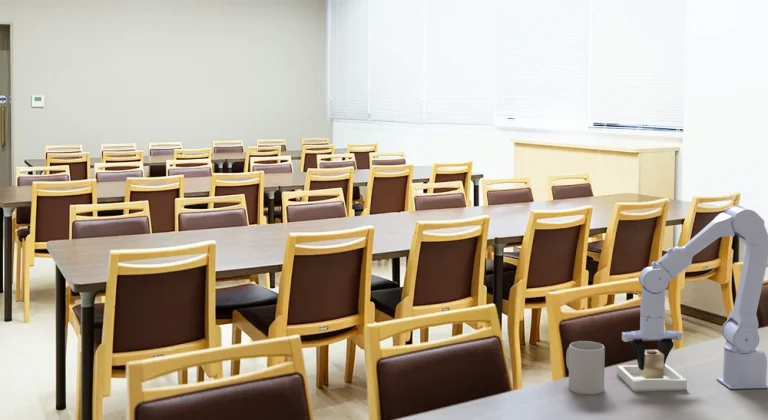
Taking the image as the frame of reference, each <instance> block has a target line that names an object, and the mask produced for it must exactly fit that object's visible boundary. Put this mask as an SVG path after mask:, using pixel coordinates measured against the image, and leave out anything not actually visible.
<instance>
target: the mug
mask: <svg viewBox="0 0 768 420" xmlns="http://www.w3.org/2000/svg"><path fill="white" fill-rule="evenodd" d="M568 345H569V346H568V347H567V350H566V353H565V354H566V356H565V362H566V366H567V367H566V368H567V370H568V389H569V390H570V391H571V392H572V393H575V394H579V395H587V396H588V395H590V396H591V395H599V394H601V393H604V391H605V355H606V352H605V351H606V349H605V348H606V347H605V346H604V344H602V343H600V342H595V341H591V340H590V341H588V340H578V341H574V342H571V343H570V344H568Z"/></svg>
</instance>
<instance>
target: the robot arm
mask: <svg viewBox="0 0 768 420" xmlns="http://www.w3.org/2000/svg"><path fill="white" fill-rule="evenodd" d="M735 235H736V236H738V238H739V239H740V240H741V242H742V243H743V244H744V245H745V246H746V249H745V252H744V258H743V262H742V267H741V270H740V271H741V273H740V276H739V282H738V286H737V292H736V296H735V301H734V305H733V308H732V309H731V310H730V311H729V313H728V317H727V320H726V321H725V322H724V323H723V325H722V326H721V327H722V328H721V334H722V336H723V338H724V340H726V341H725V342H724V345H723V366H722V367H723V369H722V370H723V372H722V376H717V377H716V380H717V381H718V382H719V383H721V384H723V385H724V386H725V387H727V388H728V389H730V390H741V389H742V390H743V389H747V390H748V389H767V388H768V385H767V369H768V363H767V362H768V360H767V355H766V352H765V351H764V350H763V349H762V348H758V346H759V343H760V335H759V320H758V316H757V315H758V314H757V311H758V307H759V303H760V299H761V298H760V297H761V293H762V287H763V283H764V279H765V275H766V269H767V266H768V265H767V263H768V230H767V229H766V226H765V220H764V219H763V218H762V217H761V216H760V215H759V214H758V213H757V212H756V211H755V210H752V209H748V208H744V206H741V205H731V206H730V207H727V208H726V209H725V210H724V212H721V213H719V214H718V215H717V216H715V217H714V219H713V220H711V221H710V222H709V223H708V224H707V225H705V227H704V228H702V229H701V230H700V231H699V232H698V233H696V234H695V235H694V236H693V237H692V238H691V239H690V240H689V241H687V243H685V245H683V246H676V245H675V246H674V247H673V248H672V247H669V248H667V249H665V251H666V253H665V254H664V255H663V256H661V257H660V258H659V259H657V261H652V262H651V266H647V267H644V268H643V269H642V270H641V272H640V274H639V276H638V282H639V284H640V285H641V289H640V293H641V295H640V307H639V308H640V310H639V311H640V316H639V317H640V320H639V322H640V323H639V326H640V327H639V330H633V331H632V330H631V331H625V332H624V331H622V332H621V341H623V342H624V343H626V342H627V343H628V342H630V344H631V347H632V348H633V351H634V354H635V356H636V361H637V365H638V368H639V369H641V370H644V355H645V350H647V349H646V348H647V345H646V344H645V342H646V341H656V342H657V350H658V351H660V352H661V353H662V354H663V355H664V365H665V364H666V362H667V359H668V356H669V355H670V352H671V350H672V349H673V348H674V345H675V344H674V343H675V342H674V341H675V340H676V341H683V332H682V331H680V330H665V313H666V312H665V309H666V307H665V305H666V304H665V303H666V298H665V293H666V292H665V291H666V290H667V288H668V286H669V283H670V282H671V281H672V280H673V279H675V278H676V277H677V276H678V275H680V274H681V273H682V272H683V271H685V270H686V269H687V268H688V267H690V266H691V265H692V261H693V257H694V256H695V255H697V254H698V253H700V252H701V251H703V250H704V249H705V248H707V247H708V246H709V245H710V244H713V242H715V241H716V240H717V239H718V240H719V238H722V237H723V238H725V237H735Z"/></svg>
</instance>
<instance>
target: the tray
mask: <svg viewBox="0 0 768 420" xmlns="http://www.w3.org/2000/svg"><path fill="white" fill-rule="evenodd" d="M616 376H617V377H618V378H619V379H620V380H621V381H622V382H623V383H625V385H626V386H627V387H628V388H630V390H631V391H633V392H635V393H637V392H638V393H639V392H670V391H677V392H679V391H687V389H688V387H687V386H688V385H687V384H688V380H687V379H686V378H685V377H684V376H683V375H681V374H680V373H678V372H677V371H676V370H675V369H673V368H672V367H671V366H669V365H668V364H666V363H665V365H664V375H663V379H645V378H644V377H643V376H642V375H641V374H640V373H639V368H638V364H633V365H629V364H628V365H617V366H616Z"/></svg>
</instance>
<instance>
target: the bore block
mask: <svg viewBox="0 0 768 420" xmlns="http://www.w3.org/2000/svg"><path fill="white" fill-rule="evenodd" d="M639 373H640V374H641V375H642V376H643V377H644V378H645V379H663V375H664V355H663V354H662V353H661V352H660V351H658V349H645V355H644V370H641V369H639Z"/></svg>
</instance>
